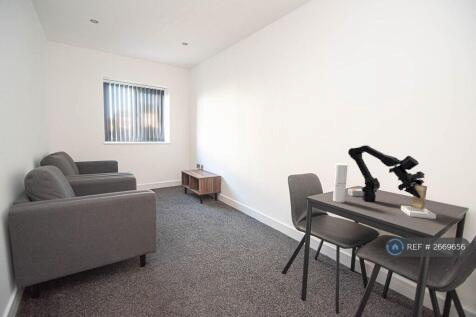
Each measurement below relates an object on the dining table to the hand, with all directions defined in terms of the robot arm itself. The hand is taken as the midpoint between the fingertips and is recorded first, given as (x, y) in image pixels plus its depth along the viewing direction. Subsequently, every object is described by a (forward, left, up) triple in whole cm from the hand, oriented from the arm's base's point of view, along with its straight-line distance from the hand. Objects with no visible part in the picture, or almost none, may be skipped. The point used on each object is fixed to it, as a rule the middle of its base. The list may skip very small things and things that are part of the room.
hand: (422, 197), depth 128 cm
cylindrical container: (-41, +13, -10) cm, 44 cm away
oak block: (-1, +1, -7) cm, 7 cm away
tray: (-1, +1, -10) cm, 10 cm away
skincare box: (-31, +32, -8) cm, 45 cm away
